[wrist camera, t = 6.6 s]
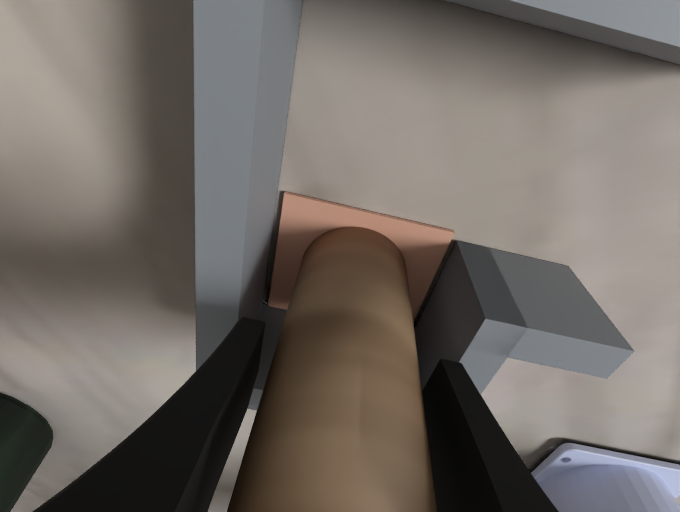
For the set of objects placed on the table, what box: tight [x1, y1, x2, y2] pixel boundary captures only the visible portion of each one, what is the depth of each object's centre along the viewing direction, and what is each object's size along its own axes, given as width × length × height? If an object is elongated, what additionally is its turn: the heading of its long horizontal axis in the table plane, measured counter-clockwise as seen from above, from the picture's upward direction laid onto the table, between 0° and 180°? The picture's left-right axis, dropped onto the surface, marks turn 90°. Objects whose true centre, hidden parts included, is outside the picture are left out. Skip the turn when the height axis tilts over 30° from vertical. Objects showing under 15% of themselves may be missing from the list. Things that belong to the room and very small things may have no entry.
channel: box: [193, 0, 680, 410], centre depth 11 cm, size 14×12×4 cm
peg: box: [227, 227, 437, 512], centre depth 10 cm, size 4×4×9 cm
